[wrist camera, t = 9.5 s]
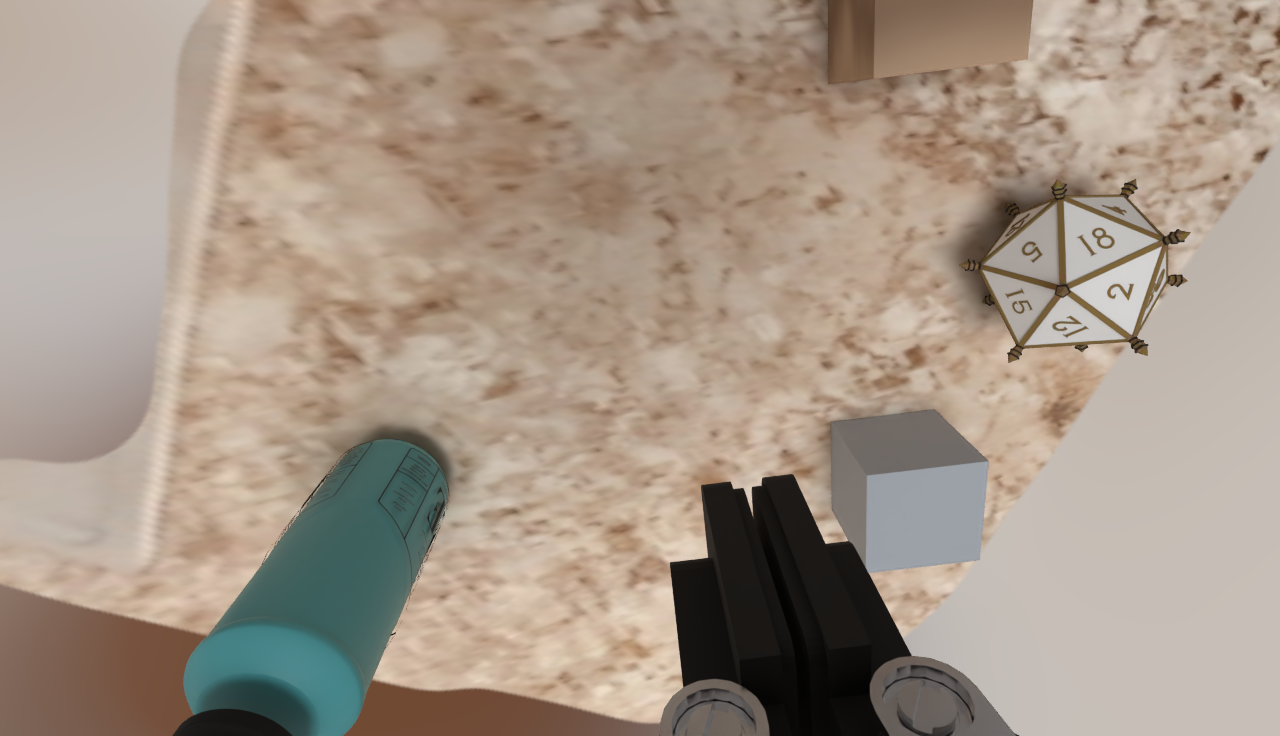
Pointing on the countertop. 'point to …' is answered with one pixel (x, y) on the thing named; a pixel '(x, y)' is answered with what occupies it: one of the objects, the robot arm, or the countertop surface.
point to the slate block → (908, 490)
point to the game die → (1077, 271)
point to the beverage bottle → (321, 602)
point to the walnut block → (923, 36)
